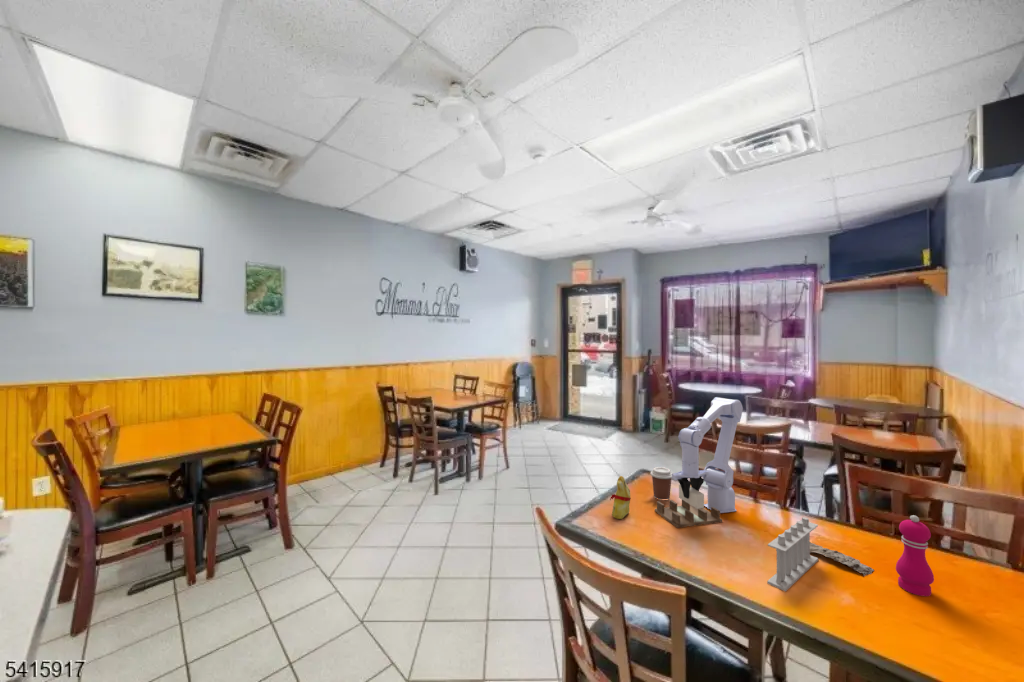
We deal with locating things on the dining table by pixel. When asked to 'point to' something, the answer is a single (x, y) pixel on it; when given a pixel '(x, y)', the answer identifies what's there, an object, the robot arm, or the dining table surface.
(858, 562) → the stone fragment
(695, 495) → the cream rectangular block
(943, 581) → the dining table surface
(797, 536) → the test tube rack
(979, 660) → the dining table surface
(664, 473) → the coffee cup
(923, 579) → the pepper mill
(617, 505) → the chocolate bunny
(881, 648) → the dining table surface
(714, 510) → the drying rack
